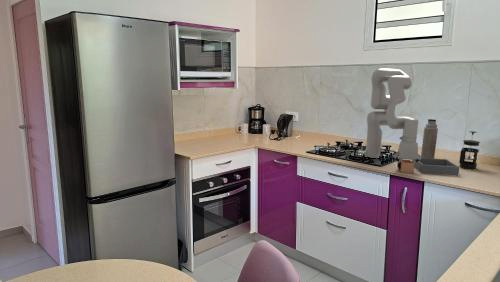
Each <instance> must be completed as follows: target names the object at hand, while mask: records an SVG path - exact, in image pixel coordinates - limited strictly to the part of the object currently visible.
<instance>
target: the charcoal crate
mask: <svg viewBox="0 0 500 282" xmlns="http://www.w3.org/2000/svg"><path fill="white" fill-rule="evenodd" d="M417 158H418V157H417ZM415 160H416V159H415ZM411 161H412V160H411ZM412 162H413V161H412ZM415 169H416V170H417V171H418V172H419V173H420V174H426V175H427V174H429V175H431V174H432V175H443V176H457V177H459V174H460V169H461V168H460V167H459V166H458V165H457V164H456V163H453V162H452V161H450V160H449V159H447V158H435V157H434V158H422V159H420V160H419V161H418V162H417V163H416V164H415Z"/></svg>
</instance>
